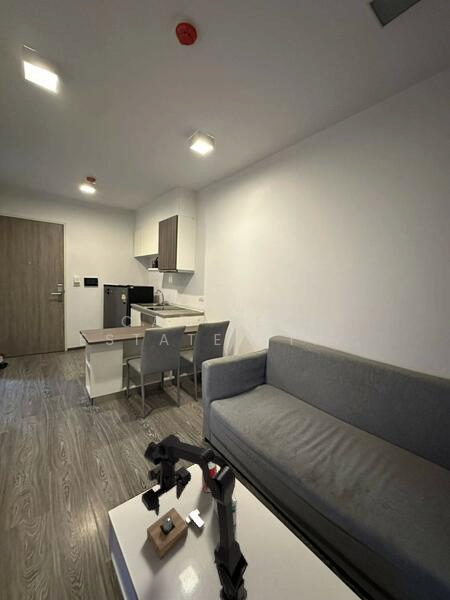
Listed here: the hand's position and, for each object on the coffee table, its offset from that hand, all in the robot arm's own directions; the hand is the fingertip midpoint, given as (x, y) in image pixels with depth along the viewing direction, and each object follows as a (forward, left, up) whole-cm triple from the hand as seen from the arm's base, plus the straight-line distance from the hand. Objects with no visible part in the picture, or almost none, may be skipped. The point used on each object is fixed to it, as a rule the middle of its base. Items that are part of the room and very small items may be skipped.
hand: (167, 506), depth 90 cm
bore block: (0, 0, -13) cm, 13 cm away
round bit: (0, 0, -13) cm, 13 cm away
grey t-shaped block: (-4, -11, -13) cm, 17 cm away
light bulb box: (-10, -22, -13) cm, 27 cm away
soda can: (+4, -26, -13) cm, 29 cm away
